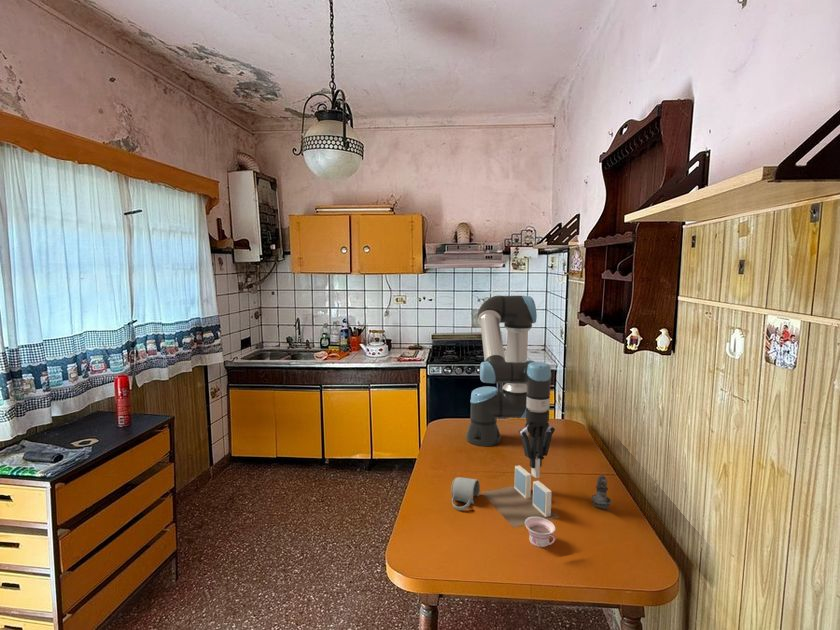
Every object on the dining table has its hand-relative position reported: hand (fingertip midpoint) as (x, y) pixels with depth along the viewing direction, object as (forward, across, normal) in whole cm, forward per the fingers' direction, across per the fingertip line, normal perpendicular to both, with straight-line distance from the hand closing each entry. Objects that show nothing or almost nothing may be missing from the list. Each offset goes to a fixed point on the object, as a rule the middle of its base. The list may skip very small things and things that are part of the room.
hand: (535, 475), depth 146 cm
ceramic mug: (+7, -25, +3) cm, 26 cm away
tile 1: (+5, -5, 0) cm, 7 cm away
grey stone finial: (+7, +14, -15) cm, 22 cm away
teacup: (+7, -14, -24) cm, 28 cm away
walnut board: (+6, -10, -5) cm, 13 cm away
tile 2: (+5, -5, -11) cm, 13 cm away
